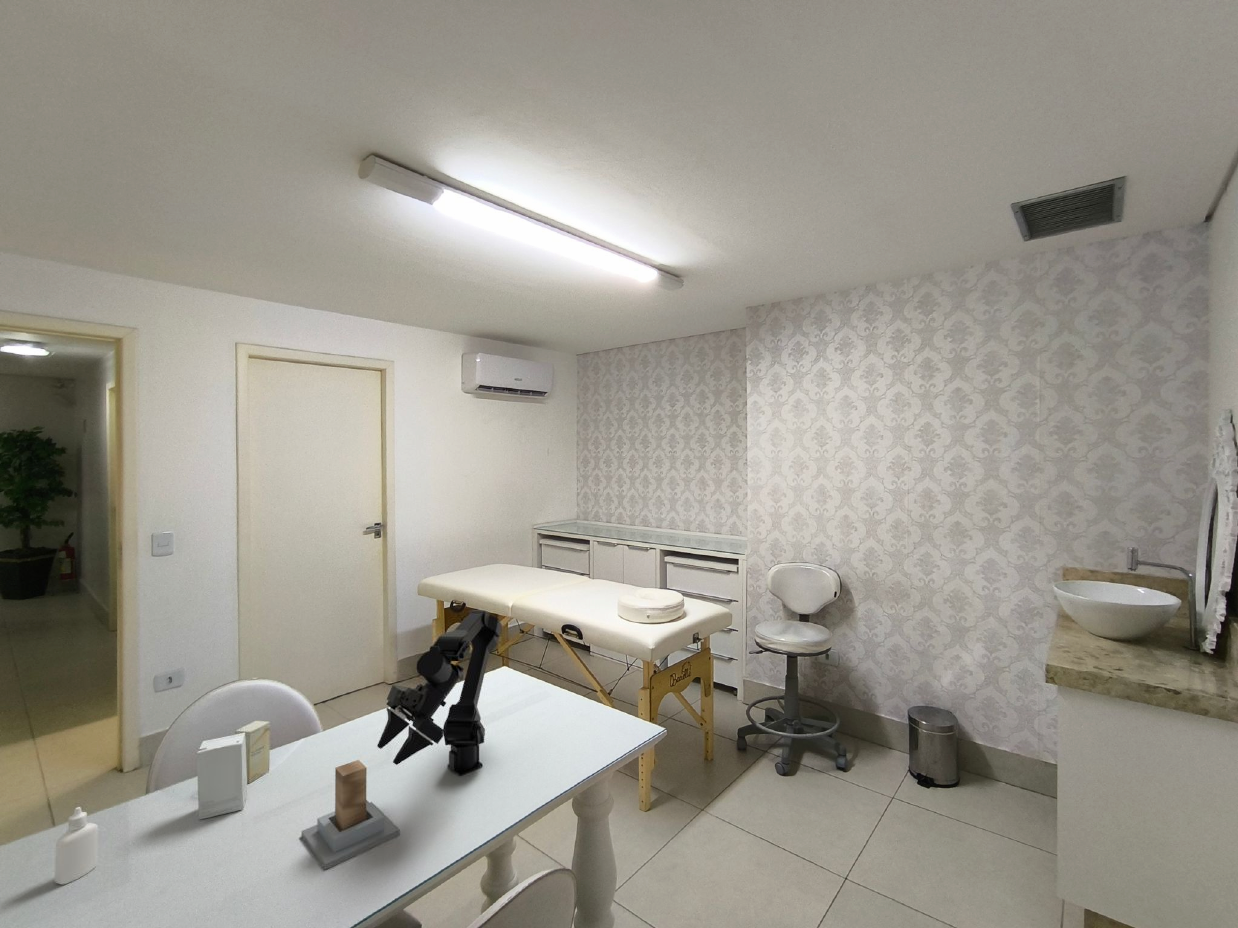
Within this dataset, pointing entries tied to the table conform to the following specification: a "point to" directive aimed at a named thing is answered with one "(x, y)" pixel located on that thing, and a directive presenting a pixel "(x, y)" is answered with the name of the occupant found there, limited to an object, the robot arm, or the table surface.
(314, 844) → the housing
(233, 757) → the skincare box
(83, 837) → the eye dropper bottle
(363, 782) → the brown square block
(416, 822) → the table surface
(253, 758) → the skincare box
